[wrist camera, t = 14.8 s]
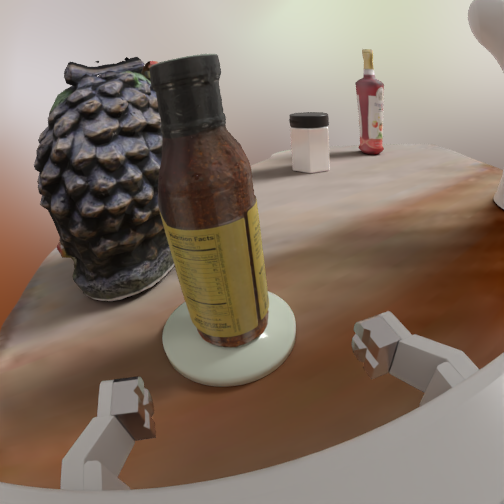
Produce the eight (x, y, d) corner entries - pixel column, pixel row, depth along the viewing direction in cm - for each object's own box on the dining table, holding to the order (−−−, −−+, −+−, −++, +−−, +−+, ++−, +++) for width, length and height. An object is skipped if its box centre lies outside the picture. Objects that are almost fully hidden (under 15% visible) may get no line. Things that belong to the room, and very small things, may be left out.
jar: (294, 163, 72) (291, 112, 66) (329, 162, 70) (327, 111, 64) (290, 173, 64) (286, 116, 58) (330, 173, 62) (328, 115, 56)
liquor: (375, 157, 73) (371, 48, 59) (352, 152, 78) (347, 49, 64) (389, 153, 77) (386, 51, 63) (367, 148, 82) (363, 51, 68)
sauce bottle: (231, 292, 29) (198, 63, 20) (286, 318, 26) (266, 49, 16) (176, 331, 25) (116, 74, 16) (230, 368, 22) (174, 50, 12)
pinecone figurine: (140, 224, 49) (110, 70, 37) (227, 227, 44) (203, 44, 32) (51, 302, 32) (-13, 94, 20) (147, 328, 27) (76, 35, 15)
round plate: (300, 296, 30) (299, 287, 29) (288, 393, 20) (288, 384, 20) (189, 292, 32) (187, 284, 31) (145, 375, 22) (141, 367, 22)
